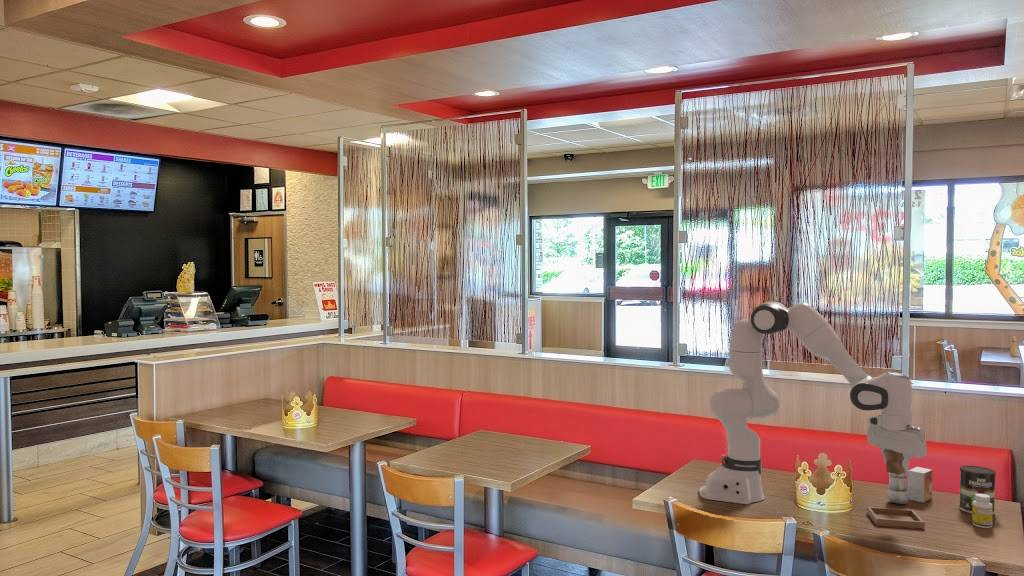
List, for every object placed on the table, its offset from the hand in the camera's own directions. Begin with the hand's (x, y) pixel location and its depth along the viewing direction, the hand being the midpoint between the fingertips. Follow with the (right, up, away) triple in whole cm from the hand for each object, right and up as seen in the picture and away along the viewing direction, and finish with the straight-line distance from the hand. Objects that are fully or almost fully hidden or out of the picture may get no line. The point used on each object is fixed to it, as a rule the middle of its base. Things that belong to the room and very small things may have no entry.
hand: (895, 464), depth 236 cm
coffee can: (+33, -18, +11) cm, 40 cm away
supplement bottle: (+26, -19, -4) cm, 32 cm away
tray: (0, -18, 0) cm, 18 cm away
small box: (+21, -18, +23) cm, 36 cm away
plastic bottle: (+11, -18, +19) cm, 28 cm away
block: (0, -2, 0) cm, 2 cm away
